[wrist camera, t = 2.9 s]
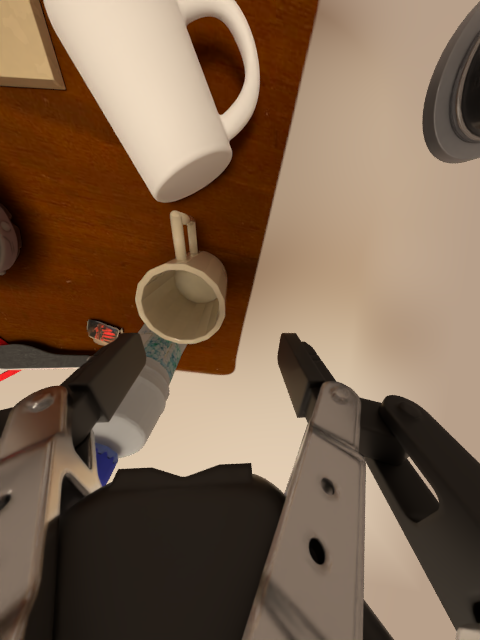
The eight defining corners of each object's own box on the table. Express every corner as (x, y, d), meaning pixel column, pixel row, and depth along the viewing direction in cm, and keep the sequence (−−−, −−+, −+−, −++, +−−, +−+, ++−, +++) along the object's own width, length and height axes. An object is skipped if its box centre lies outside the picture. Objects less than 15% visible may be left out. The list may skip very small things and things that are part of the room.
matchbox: (85, 317, 26) (83, 319, 25) (122, 324, 26) (120, 326, 26) (90, 342, 28) (88, 344, 27) (124, 348, 28) (122, 349, 28)
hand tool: (-40, 350, 24) (136, 347, 25) (-12, 339, 27) (146, 336, 28) (-14, 379, 27) (145, 375, 27) (8, 366, 30) (153, 363, 30)
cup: (227, 304, 26) (225, 343, 17) (176, 304, 25) (147, 344, 16) (226, 218, 20) (222, 209, 12) (162, 216, 20) (107, 205, 11)
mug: (171, 207, 20) (138, 195, 13) (104, 89, 15) (-4, -31, 8) (267, 148, 18) (291, 94, 11) (221, -8, 13) (209, -276, 6)
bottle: (172, 295, 25) (22, 460, 7) (203, 327, 27) (151, 504, 10) (142, 320, 26) (-44, 503, 9) (174, 347, 29) (82, 531, 11)
